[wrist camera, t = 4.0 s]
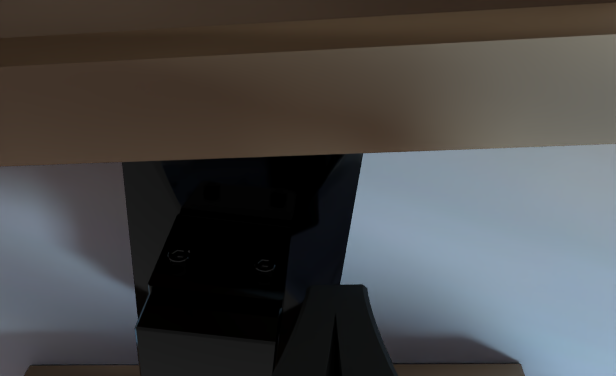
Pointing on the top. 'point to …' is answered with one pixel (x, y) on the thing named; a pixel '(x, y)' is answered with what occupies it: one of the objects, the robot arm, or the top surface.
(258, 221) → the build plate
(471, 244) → the top surface
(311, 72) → the wooden stepped rails
